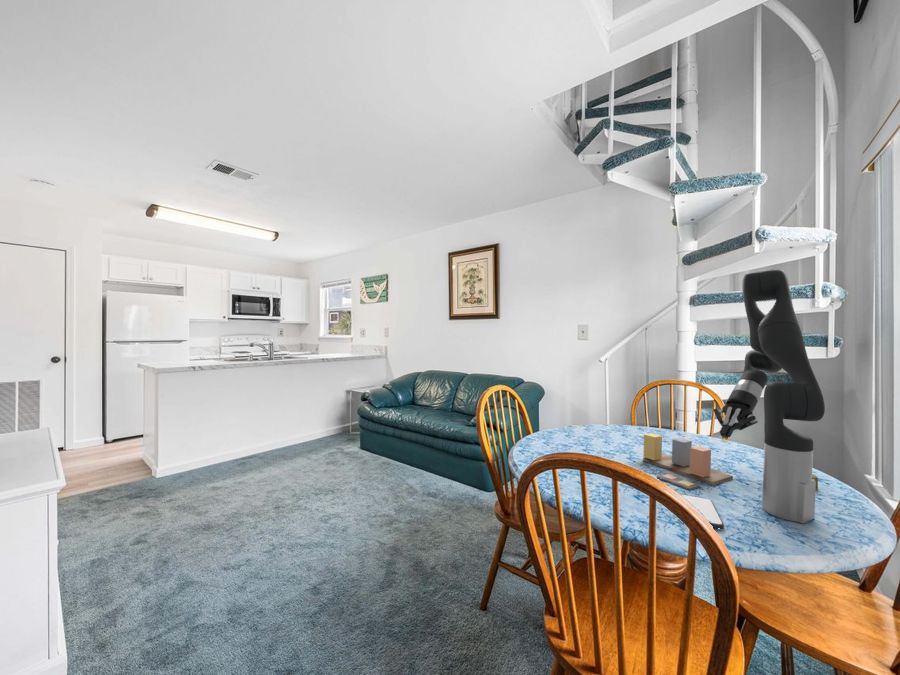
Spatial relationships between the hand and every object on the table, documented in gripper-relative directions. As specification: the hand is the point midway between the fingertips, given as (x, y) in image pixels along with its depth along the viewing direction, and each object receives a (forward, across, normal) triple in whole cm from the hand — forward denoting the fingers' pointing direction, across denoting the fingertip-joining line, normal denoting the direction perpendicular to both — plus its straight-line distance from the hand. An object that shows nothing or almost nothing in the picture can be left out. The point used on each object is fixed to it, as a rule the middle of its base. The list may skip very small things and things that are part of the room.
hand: (723, 436), depth 124 cm
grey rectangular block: (+14, -8, 0) cm, 16 cm away
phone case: (+34, +13, -17) cm, 40 cm away
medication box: (0, +15, +17) cm, 23 cm away
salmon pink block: (+16, 0, -2) cm, 17 cm away
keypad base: (+15, -6, +1) cm, 16 cm away
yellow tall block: (+16, -16, -2) cm, 23 cm away
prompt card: (+24, -1, -8) cm, 25 cm away
